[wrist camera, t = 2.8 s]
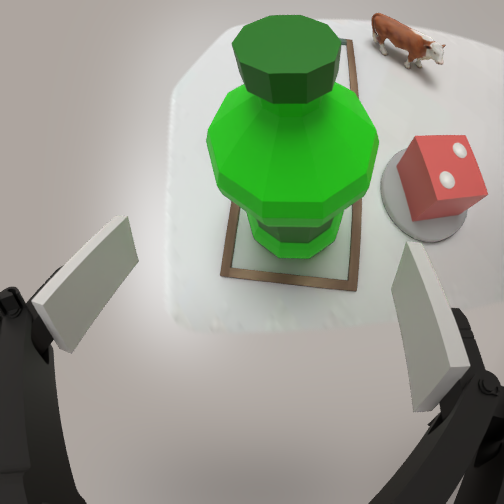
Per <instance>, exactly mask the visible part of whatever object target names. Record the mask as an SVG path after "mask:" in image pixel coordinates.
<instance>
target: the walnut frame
mask: <svg viewBox="0 0 504 504" xmlns="http://www.w3.org/2000/svg"><path fill="white" fill-rule="evenodd" d="M339 39H340V40H341V44H342V45H347V55H348V65H349V76H350V90H351V91H353V92H355V94H356V95H357V97H358V99H359V95H358V84H357V74H356V65H355V57H354V49H353V42H352V40H348V39H341V38H339ZM239 212H240V207H239V206H238V205H237V204H235V203H234V202H232V201H231V207H230V214H229V220H228V226H227V232H226V239H225V245H224V252H223V259H222V265H221V272H220V276H225V277H233V278H241V279H249V280H257V281H266V282H274V283H283V284H292V285H301V286H310V287H320V288H329V289H339V290H349V291H357V282H358V270H359V256H360V239H361V214H362V198H361V199H359V200H358V201H356V202H355V203H354V204H352V229H351V246H350V260H349V273H348V281H347V280H338V279H328V278H318V277H309V276H300V275H291V274H282V273H273V272H264V271H255V270H247V269H238V268H231V266H232V259H233V252H234V245H235V239H236V232H237V225H238V219H239Z"/></svg>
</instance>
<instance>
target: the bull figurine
mask: <svg viewBox="0 0 504 504" xmlns="http://www.w3.org/2000/svg"><path fill="white" fill-rule="evenodd" d="M372 28H373V39H374V41H375V43H377V42H379V44H380V51H382V54H383V55H385V56H386V55H388V53H387V51H386V49H385V47H384V41H385V39H386V38H388V39H389V40H390V41H391V42H392V43H393V44H394V45H395V47H398V48H401V49H403V50H406V51H408V52H409V56H408V59H407V61H406V62H404V64H405V67H406V68H407V69H410V62H412V61H413V60H414V59H417V61H416V62H415V64H417V67H418V68H422V65H421V61H420V60H425V59H426V60H429V59H431V58H432V59H433V60H435V62H436V63H437V64H440V65H442V64H443V63H444V61H443V53H444V51H443V48H444V47H445V45H441V44H440V43H437V42H435V41H434V40H433V39H432V38H431V37H430V36H428V35H425V34H423V33H421V32H419V31H416V30H413V29H411V28H409V27H407V26H406V25H404V24H402V23H400V22H398V21H397V20H395V19H392V18H390V17H388V16H386V15H383V14H381V13H376V14H374V15H373V17H372ZM375 30H376V32H377V33H376V32H375ZM377 34H378V35H377Z"/></svg>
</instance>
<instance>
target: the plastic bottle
mask: <svg viewBox="0 0 504 504" xmlns="http://www.w3.org/2000/svg"><path fill="white" fill-rule="evenodd" d="M232 47H233V50H234V54H235V57H236V61H237V65H238V69H239V72H240V75H241V77H242V80H243V82H244V84H243V85H241V86H239V87H237V88H236V89H234V90H232V91H230V92H229V93H228V94H227V95H226V97H225V99H224V101H223V103H222V104H221V106H220V108H219V110H218V112H217V114H216V115H215V117H214V119H213V121H212V123H211V125H210V127H209V129H208V133H207V139H206V143H207V147H208V151H209V155H210V159H211V163H212V167H213V171H214V175H215V179H216V183H217V186H218V188H219V190H220V191H221V193H222V194H223V195H224V196H225V197H227V198H228V199H230V200H231V201H232V202H234V203H235V204H237V205H238V206H239V207H241V208H242V209H244V210H245V211H246V212H247V216H248V219H249V223H250V226H251V230H252V234H253V237H254V239H255V240H256V241H257V242H258V243H260V244H261V245H262V246H264V247H265V248H266V249H268V250H269V251H270V252H272V253H273V254H274V255H276V256H277V257H278V258H301V259H310V258H311V257H313V256H314V255H315V254H317V253H318V252H320V251H321V250H323V249H324V248H325V247H327V246H328V245H330V244H331V243H333V242H334V240H335V238H336V235H337V232H338V229H339V225H340V222H341V219H342V215H343V212H344V210H345V209H346V208H348V207H349V206H351V205H352V204H354V203H355V202H356V201H358V200H359V199H361V198H362V197H364V195H365V194H366V192H367V190H368V188H369V185H370V181H371V176H372V172H373V168H374V163H375V159H376V154H377V150H378V145H379V139H378V135H377V131H376V129H375V127H374V125H373V123H372V121H371V119H370V118H369V116H368V114H367V112H366V111H365V109H364V107H363V105H362V104H361V102H360V100H359V99H358V97H357V95H356V94H355V92H353V91H351V90H349V89H348V88H346V87H344V86H342V85H340V84H338V83H336V82H335V80H336V77H337V74H338V70H339V61H340V52H341V40H340V39H339V38H338V37H337V35H336V34H335V33H334V32H333V31H332V29H331V28H330V27H329V26H328V25H327V24H325V23H322V22H319V21H316V20H314V19H311V18H308V17H305V16H302V15H274V16H268V17H265V18H263V19H260V20H258V21H255V22H253V23H250V24H248V25H246V26H244V27H243V28H242V30H241V31H240V32H239V34H238V35H237V37H236V38H235V39H234V41H233V42H232Z"/></svg>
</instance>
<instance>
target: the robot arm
mask: <svg viewBox="0 0 504 504" xmlns="http://www.w3.org/2000/svg"><path fill="white" fill-rule="evenodd" d="M138 261H139V260H138V257H137V253H136V249H135V245H134V241H133V237H132V232H131V228H130V224H129V220H128V216H115V217H114V218H113V219H112V220H110V221H109V222H108V223H107V224H106V225H105V226H104V227H103V228H102V229H101V230H100V231H99V232H97V233H96V234H95V235H94V236H93V237H92V238H91V239H90V240H89V241H88V242H87V243H86V244H85V245H84V246H83V247H82V248H81V249H80V250H79V251H78V252H77V253H76V254H75V255H74V256H73V257H72V258H71V259H70V260H69V261H68V262H67V263H66V264H65V265H63V266H62V267H60V268H58V269H57V270H56V271H55V272H54V273H53V274H52V275H51V276H50V278H49V279H48V280H47V281H46V282H45V284H43V285H42V286H41V287H40V288H39V289H38V290H37V292H36V293H35V294H34V295H33V296H32V297H31V298H30V299H29V301H28V302H27V303H25V301H24V299H23V298H22V296H21V294H20V292H19V290H18V289H17V288H16V287H8V288H6V289H4V290H3V291H2V292H0V504H86V502H85V500H84V499H83V498H82V497H81V496H80V494H79V493H78V491H77V489H76V486H75V483H74V479H73V475H72V472H71V468H70V464H69V460H68V455H67V451H66V446H65V442H64V437H63V432H62V426H61V420H60V414H59V407H58V399H57V390H56V382H55V369H54V353H53V348H52V346H51V342H52V341H53V340H54V341H55V342H56V344H57V345H58V347H59V348H60V349H62V350H64V351H67V352H69V353H72V352H73V351H74V349H75V348H76V347H77V345H78V343H79V342H80V341H81V339H82V338H83V336H84V335H85V333H86V332H87V330H88V329H89V327H90V326H91V325H92V323H93V322H94V320H95V319H96V318H97V316H98V315H99V313H100V312H101V311H102V309H103V308H104V306H105V305H106V304H107V302H108V301H109V300H110V298H111V297H112V296H113V294H114V293H115V292H116V290H117V289H118V287H119V286H120V285H121V284H122V282H123V281H124V280H125V278H126V277H127V276H128V274H129V273H130V272H131V271H132V269H133V268H134V267H135V265H136V264H137V263H138ZM391 291H392V295H393V299H394V303H395V307H396V312H397V316H398V321H399V325H400V330H401V335H402V340H403V345H404V350H405V356H406V362H407V368H408V375H409V381H410V389H411V396H412V404H413V412H425V411H432V410H433V409H434V408H435V407H436V406H437V405H438V404H440V409H441V412H440V413H439V414H438V415H437V416H436V417H435V418H434V419H433V420H432V421H431V422H430V423H429V424H428V426H430V425H431V426H430V427H429V429H428V430H427V432H426V433H425V435H424V436H423V438H422V439H421V440H420V442H419V443H418V445H417V446H416V447H415V449H414V450H413V451H412V453H411V454H410V455H409V457H408V458H407V459H406V461H405V462H404V463H403V465H402V466H401V467H400V468H399V470H398V471H397V472H396V473H395V475H394V476H393V477H392V478H391V479H390V480H389V481H388V483H387V484H386V485H385V486H384V487H383V488H382V490H381V491H380V492H379V493H378V494H377V495H376V496H375V497H374V498H373V499H372V500H371V501H370V502H369V504H446V502H447V501H448V499H449V498H450V496H451V495H452V493H453V492H454V490H455V489H456V487H457V485H458V484H459V482H460V480H461V479H462V477H463V475H464V477H463V480H462V483H461V486H460V488H459V491H458V494H457V496H456V499H455V501H454V504H504V387H503V386H501V385H500V382H499V380H498V378H497V377H496V376H495V375H494V374H493V373H491V372H489V371H486V370H485V367H484V364H483V361H482V358H481V355H480V352H479V349H478V346H477V344H476V341H475V339H474V335H473V332H472V331H471V327H470V325H469V322H468V320H467V318H466V316H465V315H464V314H463V313H462V311H461V310H460V309H459V308H450V305H449V303H448V300H447V298H446V295H445V293H444V291H443V288H442V286H441V284H440V281H439V279H438V277H437V275H436V272H435V270H434V268H433V266H432V264H431V262H430V259H429V257H428V255H427V253H426V251H425V249H424V247H423V245H422V243H419V242H411V241H406V244H405V248H404V251H403V254H402V258H401V261H400V264H399V267H398V270H397V273H396V276H395V279H394V282H393V285H392V288H391Z"/></svg>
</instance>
